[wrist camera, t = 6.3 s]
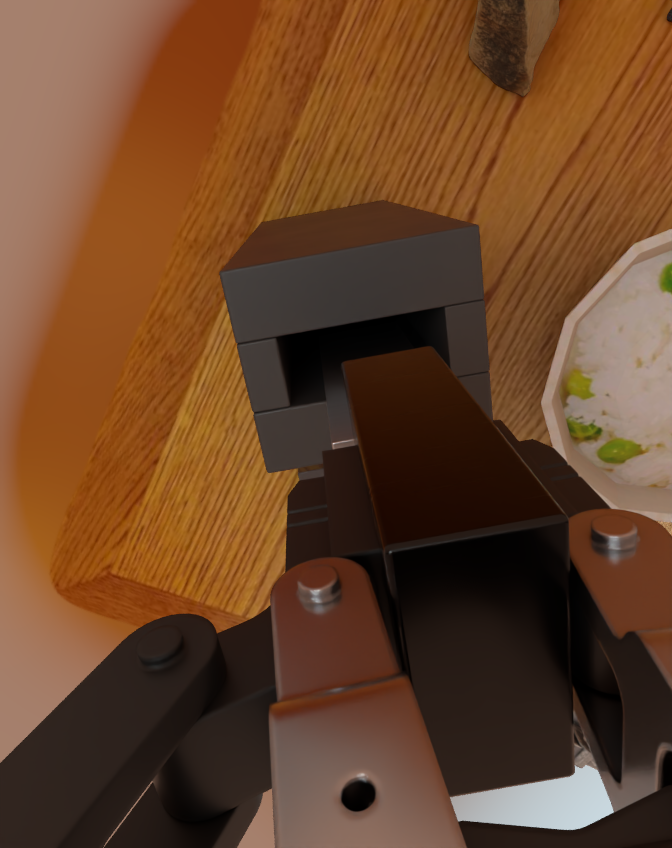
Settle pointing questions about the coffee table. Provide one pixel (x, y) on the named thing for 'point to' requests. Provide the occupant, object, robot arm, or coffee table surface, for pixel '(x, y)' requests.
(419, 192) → the coffee table surface
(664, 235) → the bowl
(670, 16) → the glasses
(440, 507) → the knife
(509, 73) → the rock
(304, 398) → the knife block
